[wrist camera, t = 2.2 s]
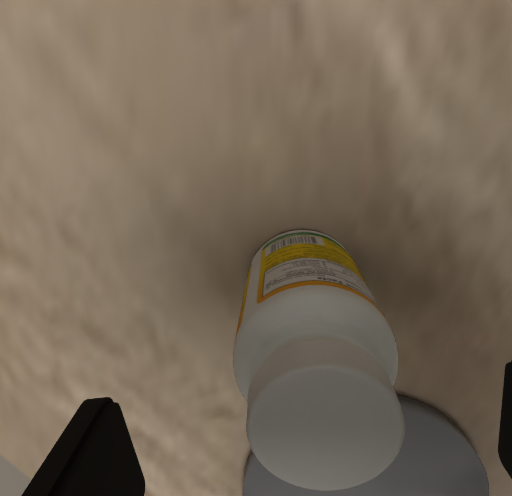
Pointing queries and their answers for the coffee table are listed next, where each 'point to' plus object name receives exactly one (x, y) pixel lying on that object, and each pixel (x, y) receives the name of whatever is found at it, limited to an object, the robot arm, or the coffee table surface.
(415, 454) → the plate
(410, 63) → the coffee table surface
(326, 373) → the supplement bottle
